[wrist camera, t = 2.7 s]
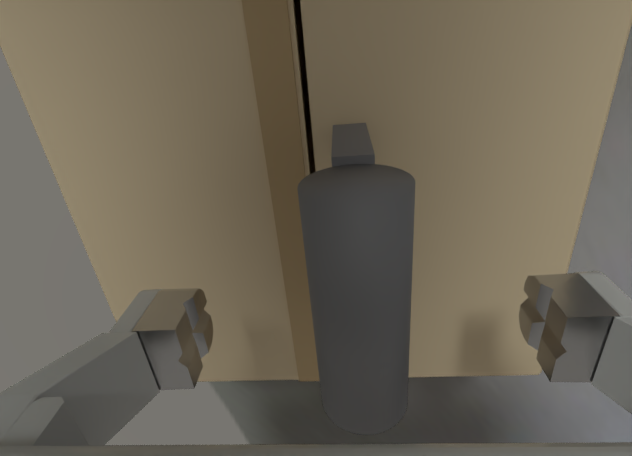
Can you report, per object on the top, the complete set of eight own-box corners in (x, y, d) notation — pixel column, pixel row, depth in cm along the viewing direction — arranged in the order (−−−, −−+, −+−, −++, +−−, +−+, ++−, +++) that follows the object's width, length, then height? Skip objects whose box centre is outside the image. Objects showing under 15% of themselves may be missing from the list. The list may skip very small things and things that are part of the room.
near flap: (295, -37, 10) (252, -99, 5) (646, -75, 9) (1025, -196, 4) (333, 373, 17) (331, 525, 12) (536, 369, 16) (627, 528, 11)
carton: (119, -2, 18) (-40, -20, 10) (523, -45, 16) (680, -103, 9) (197, 281, 25) (138, 390, 18) (480, 269, 24) (547, 383, 16)
